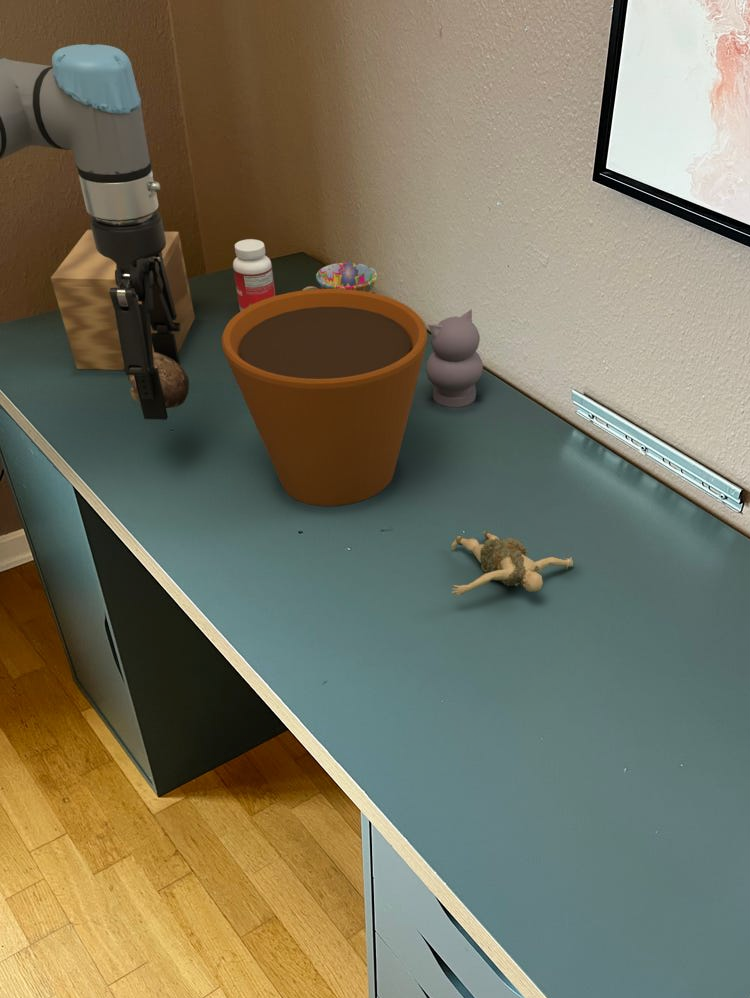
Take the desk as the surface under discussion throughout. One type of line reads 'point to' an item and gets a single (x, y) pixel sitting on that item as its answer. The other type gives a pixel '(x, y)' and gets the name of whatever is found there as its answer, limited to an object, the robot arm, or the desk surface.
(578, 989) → the desk surface
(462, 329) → the cat figurine
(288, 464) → the flower pot
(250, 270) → the pill bottle
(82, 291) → the wood grain cube
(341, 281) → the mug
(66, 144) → the robot arm
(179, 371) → the mushroom
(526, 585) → the figurine
